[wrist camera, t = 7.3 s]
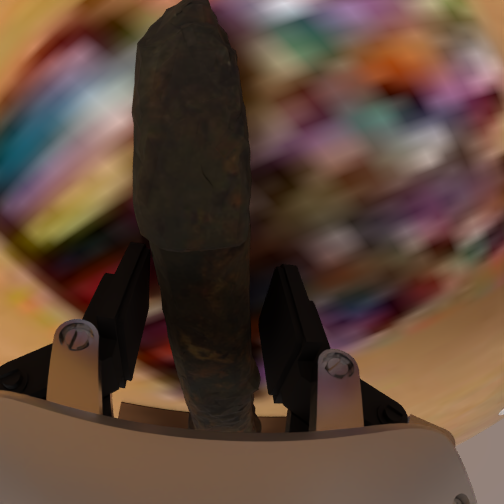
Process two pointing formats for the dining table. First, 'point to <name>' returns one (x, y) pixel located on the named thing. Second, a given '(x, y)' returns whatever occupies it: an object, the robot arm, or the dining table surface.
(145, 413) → the board
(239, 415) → the hand tool
